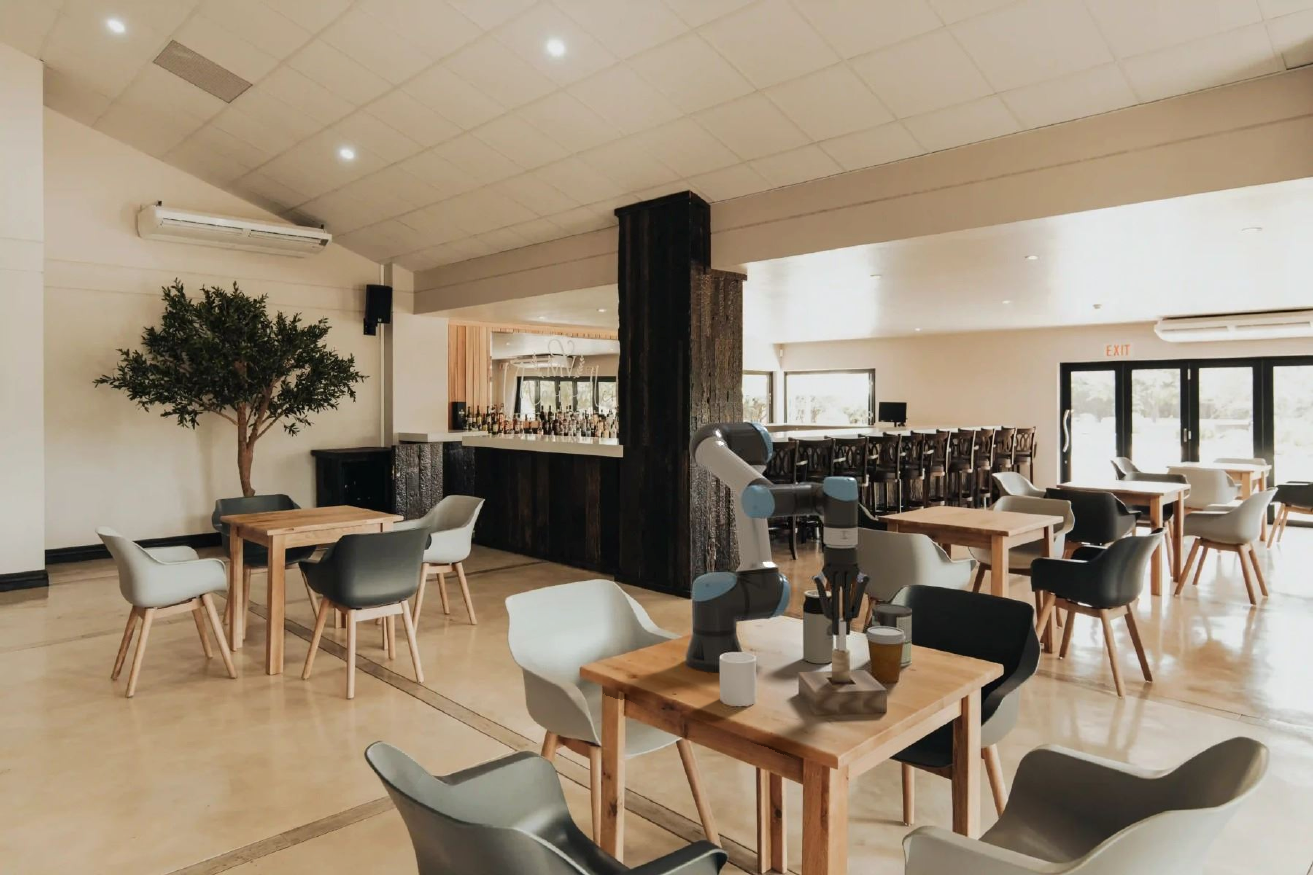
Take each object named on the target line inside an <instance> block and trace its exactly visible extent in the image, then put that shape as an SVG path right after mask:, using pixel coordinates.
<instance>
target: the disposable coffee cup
mask: <svg viewBox="0 0 1313 875" xmlns="http://www.w3.org/2000/svg"><path fill="white" fill-rule="evenodd" d="M865 638H866V639H867V646H868V654H869V655H868V656H869V661H870V667H871V676H872V677H873V678H874V679H875V680H876V681H878V682H879V683H884V684H885V683H886V684H893V683H897V682H899V680H900V672H901V667H900V666H901V658H902V650H903V642H904V640H905V638H906V637H905V636H904V632H903V630H901V629H898V628H894V627H886V626H877V627H872V626H871V627H869V628H867V631H866V633H865Z"/></svg>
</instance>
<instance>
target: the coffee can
mask: <svg viewBox="0 0 1313 875" xmlns="http://www.w3.org/2000/svg"><path fill="white" fill-rule="evenodd" d="M912 613H913V610H912V608H911V607H909V606H906V605H903V604H893V603H882V604H881V603H880V604H874V605H873V606H871V627H877V626H886V627H894V628H898V629H901V630H903V632H904V636H905V637H906V638H905V640H904V642H903V650H902V658H901V666H900V668H902V667H906V666H909V665H911V664H912V662H913V661H912Z"/></svg>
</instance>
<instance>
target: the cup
mask: <svg viewBox="0 0 1313 875" xmlns="http://www.w3.org/2000/svg"><path fill="white" fill-rule="evenodd" d="M719 700H720V702H721V701H722V702H723V703H724V704H723V703H722V702H721V703H722V704H723V705H725V704H728V705H732V706H747V707H749V706H748V705H751V706H752V704H753V705H754V704H755V703H756V700H757V657H756V656H755V655H754V654H752V653H749V652H743V651H742V652H730V653H725V654H722V655H720V672H719Z"/></svg>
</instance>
